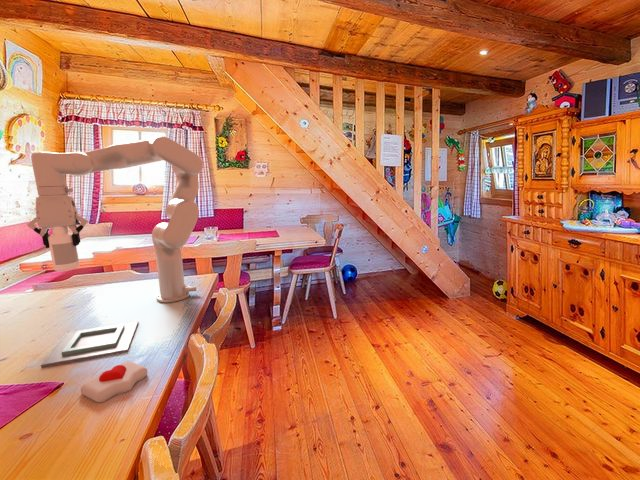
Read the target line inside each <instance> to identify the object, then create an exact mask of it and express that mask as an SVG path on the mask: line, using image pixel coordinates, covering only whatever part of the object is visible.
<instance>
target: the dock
mask: <svg viewBox="0 0 640 480" xmlns="http://www.w3.org/2000/svg"><path fill="white" fill-rule="evenodd" d="M138 325H139V321H138V320H136V321H129V322H124V323H118V324H110V325H104V326H99V327H98V326H96V327H91V328H90V327H89V328H86V329H85V328H83V329H79V330H77V329H76V330H72V331H67V332H66V333H65V334H64V336H63V337H62V339H61V340H60V341H59V342H58V343H57V344H56V346H55V347H54V348H53V349H52V351H51V352H50V353H49V354H48V356H47V357H46V358H44V361H43V362H42V363H41V365H40V367H41V368H47V367H51V366H53V367H54V366H57V365H62V364H63V365H64V364H68V363H69V364H70V363H74V362H80V361H84V360H85V361H86V360H92V359H95V358H96V359H97V358H101V357H102V358H103V357H107V356H112V354H114V355H118V354H117V353H119V354H123V353H122V352H124V353H128V352H129V350H130V347H131V344H132V342H133V339H134V335H135V334H136V332H137V328H138Z"/></svg>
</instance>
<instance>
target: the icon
mask: <svg viewBox="0 0 640 480" xmlns="http://www.w3.org/2000/svg"><path fill="white" fill-rule="evenodd" d="M147 375H148V368H147V367H145V366H143V365H141V364H139V363H138V364H137V363H135V362H134V361H130V360H129V361H128V360H127V361H125V362H123V363H121V364H118V365H115V366H113V367H112V368H111V369H108V370H105V371H104V372H102V373H101V374H99V375H98V376H95V377H94V378H92V379H90V380H88V381H86V382H84V383H82V385H81V386H80V389H79V390H80V391H79V392H80V393H81V394H82V395H83V396H85V397H87V398H89V399H91V400H92V401H94V402H96V403H103V402H105V401H108V400H109V399H111V398H112V397H114V396H115V395H119V394H123V393H126V392H131V390H132V389H133V387H134V386H135V384H136V383H137V381H138V382H139V381H141V380H143V379H144V378H146V377H147Z"/></svg>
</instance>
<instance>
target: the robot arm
mask: <svg viewBox="0 0 640 480" xmlns="http://www.w3.org/2000/svg"><path fill="white" fill-rule="evenodd" d="M30 158H31V159H30V160H31V164H32V165H31V166H32V171H33V175H34V180H35V186H36V190H37V195H38V196H37V197H35V217H34V218H33V219H32V220H31V221H30V222H29V223H27V227H29V228H30V229H32V230H33V232H34V233H37V234H38V235H39V236H41V239H42V244H43V246H45V249H50V247H49V241H48V237H49V236H51V234H49V232H50V229H52V228H53V227H67V228H68V229H69V230H71V234H72V239H73V245H74V246H76V247H77V246H79V245H80V243H81V236H80V233H81V231H83V230H84V228H85V227H86V226H87V225H88V223H89V220H88V219H86V218H85V217H83V216H82V215H80V214H79V212H78V209H77V206H76V205H77V204H76V202H75V200H74V198H73V195H70V193H73V192H74V189H73V187H69V186H68V185H67V179H66V175H70V176H73V177H74V176H75V177H79V176H80V177H81V176H87V175H88V174H92V173H98V172H102V171H109V170H118V169H119V170H120V169H126V168H132V167H137V166H141V165H146V164H151V163H155V162H160V161H164V162H166V163H168V164H169V165H171V169H172V170H173V172H174V174H175V176H176V185H175V188H174V191H173V193H172V195H171V197H170V199H169V201H168V204H167V205H166V206H165V215H166V216H167V218H168V219H169V221H168V222H166V221H163V222H160V223H158V224H156V225H155V226H154V228H153V229H152V231H151V238H152V239H151V241H152V244H153V248H154V253H155V258H156V259H155V260H156V268H157V276H158V283H159V284H158V286H159V294H157V295H156V301H157V302H159V303H164V304H165V303H174V302H175V303H177V302H179V301H183V300H185V299H187V298H189V296H190V292H197V291H198V289H197V286H194V285H186V284H187V283H186V282H185V275H184V267H183V266H184V264H183V255H182V254H183V253H182V250H181V249H182V247H184V246H185V245H186V244H187V243H188V241H189V239H190V237H191V235H192V232H193V230H194V229H195V227H196V224H197V222H198V218H199V216H200V215H199V214H200V209H199V206H198V205H197V202H195V201H196V197H197V195H198V194H199V193H198V192H199V188H200V184H199V179H198V175H199V174H200V173H201V172H202V171H203V168H204V163H203V160H202V159H201V157H200V156H199V155H198V154H197V153H195V152H194V151H192V150H190V149H188V148H186V147H185V146H183V145H181V144H180V143H178V142H177V141H174V140H173V139H171V138H169V137H168V136H163V135H162V136H156V137H152V138H146V139H140V140H134V141H126V142H120V143H116V144H112V145H109V146H106V147H103V148H97V149H93V150H87V151H73V152H72V151H71V152H60V153H59V152H51V151H36V152H33V153H31V155H30ZM79 223H80V224H79ZM78 224H79V225H78ZM77 225H78V226H77Z"/></svg>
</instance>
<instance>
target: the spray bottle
mask: <svg viewBox="0 0 640 480" xmlns="http://www.w3.org/2000/svg"><path fill="white" fill-rule="evenodd" d="M51 232H52V234H50V236H49V237H48V241H49V251H50V256H51V261H52V266H53V270H54V271H55V272H56V271H57V272H63V271H64V272H65V271H71V270H75V269H77V268H79V267H80V260H79V255H78V250H77V246H74V245H73V239H72V234H73V233H72V232H69V227H53V228H51Z"/></svg>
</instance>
